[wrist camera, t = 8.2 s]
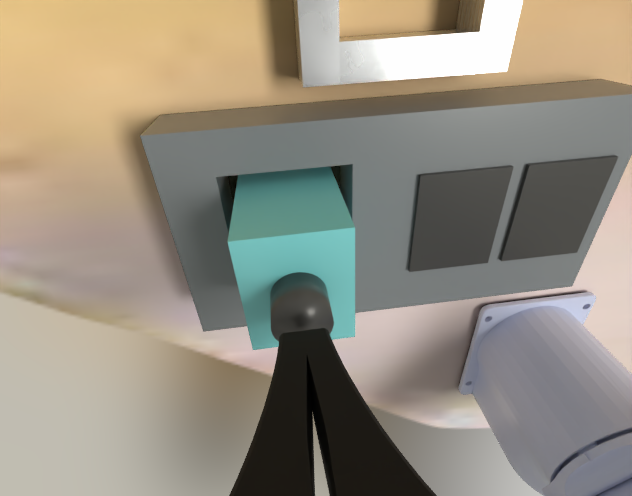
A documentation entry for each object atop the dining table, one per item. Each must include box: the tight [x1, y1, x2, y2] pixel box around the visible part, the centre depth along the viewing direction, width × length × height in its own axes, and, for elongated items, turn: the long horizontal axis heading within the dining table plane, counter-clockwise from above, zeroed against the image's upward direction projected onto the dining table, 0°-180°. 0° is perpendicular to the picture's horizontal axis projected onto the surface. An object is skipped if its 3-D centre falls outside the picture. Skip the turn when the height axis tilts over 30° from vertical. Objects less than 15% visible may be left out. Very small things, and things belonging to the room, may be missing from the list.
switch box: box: [140, 79, 632, 331], centre depth 17 cm, size 10×20×3 cm, turn 93°
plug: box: [228, 166, 355, 350], centre depth 15 cm, size 5×4×8 cm
